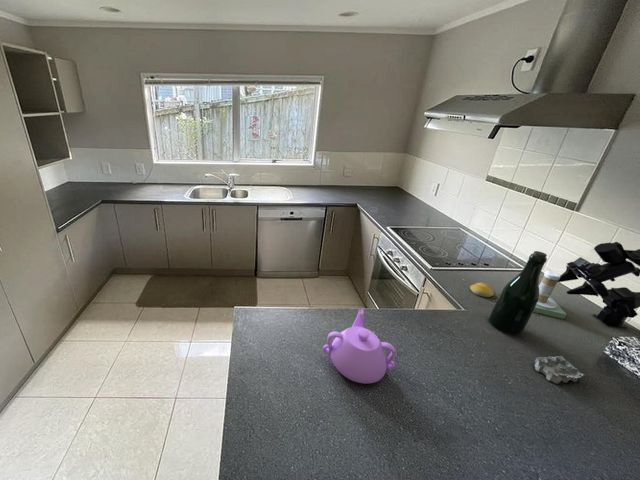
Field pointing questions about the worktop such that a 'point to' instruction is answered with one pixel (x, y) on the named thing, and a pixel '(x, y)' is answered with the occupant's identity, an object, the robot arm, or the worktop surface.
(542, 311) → the scale
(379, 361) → the teapot
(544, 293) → the sprinkles bottle
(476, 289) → the bread roll
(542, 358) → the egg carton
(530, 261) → the beer bottle
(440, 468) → the worktop surface
